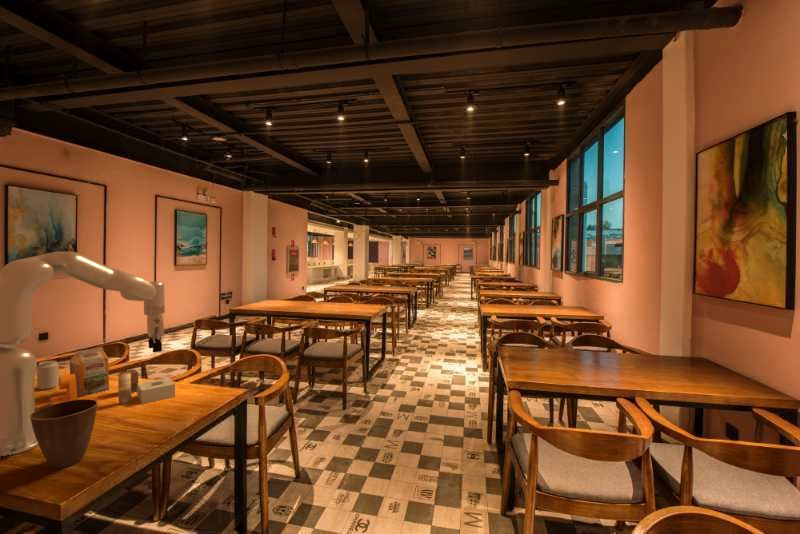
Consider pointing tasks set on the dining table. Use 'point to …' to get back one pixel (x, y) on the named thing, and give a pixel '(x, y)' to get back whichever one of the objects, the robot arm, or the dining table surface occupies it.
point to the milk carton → (90, 371)
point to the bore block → (155, 390)
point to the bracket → (70, 386)
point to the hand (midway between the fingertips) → (155, 349)
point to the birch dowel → (124, 388)
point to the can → (47, 375)
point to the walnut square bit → (133, 380)
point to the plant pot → (64, 430)
